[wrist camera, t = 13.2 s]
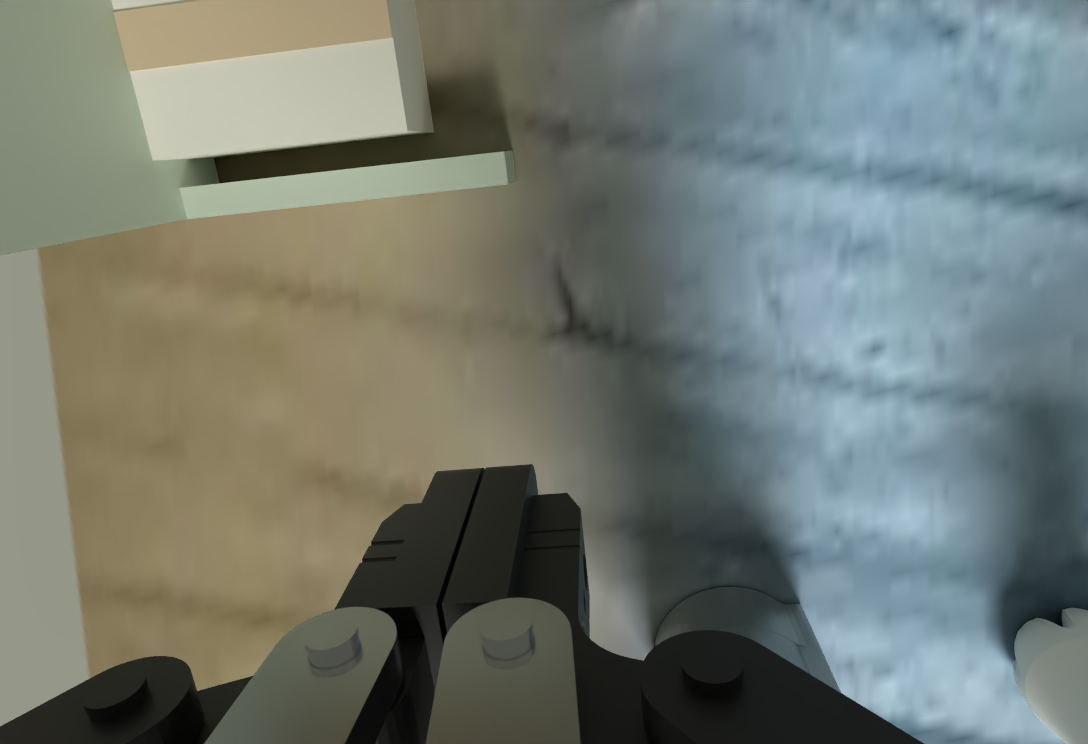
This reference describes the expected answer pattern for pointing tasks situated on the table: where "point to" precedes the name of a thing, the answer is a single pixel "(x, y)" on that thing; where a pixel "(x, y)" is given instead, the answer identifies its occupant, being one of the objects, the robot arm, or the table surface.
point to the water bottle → (1056, 672)
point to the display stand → (139, 144)
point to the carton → (272, 73)
